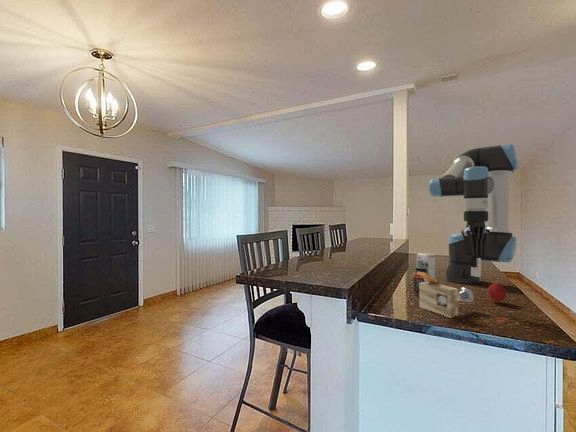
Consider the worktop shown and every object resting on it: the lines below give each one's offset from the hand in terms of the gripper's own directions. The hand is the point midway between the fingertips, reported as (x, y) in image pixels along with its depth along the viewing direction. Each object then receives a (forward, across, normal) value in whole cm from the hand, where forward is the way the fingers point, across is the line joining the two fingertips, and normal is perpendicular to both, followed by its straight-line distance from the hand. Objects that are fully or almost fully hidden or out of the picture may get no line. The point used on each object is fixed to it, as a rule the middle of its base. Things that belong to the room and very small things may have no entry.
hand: (475, 276), depth 109 cm
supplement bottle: (+11, -4, +20) cm, 23 cm away
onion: (+11, +11, -1) cm, 16 cm away
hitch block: (+11, -16, +3) cm, 20 cm away
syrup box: (+11, +11, +30) cm, 34 cm away
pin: (+9, -11, 0) cm, 14 cm away
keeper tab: (+1, -17, +6) cm, 18 cm away
